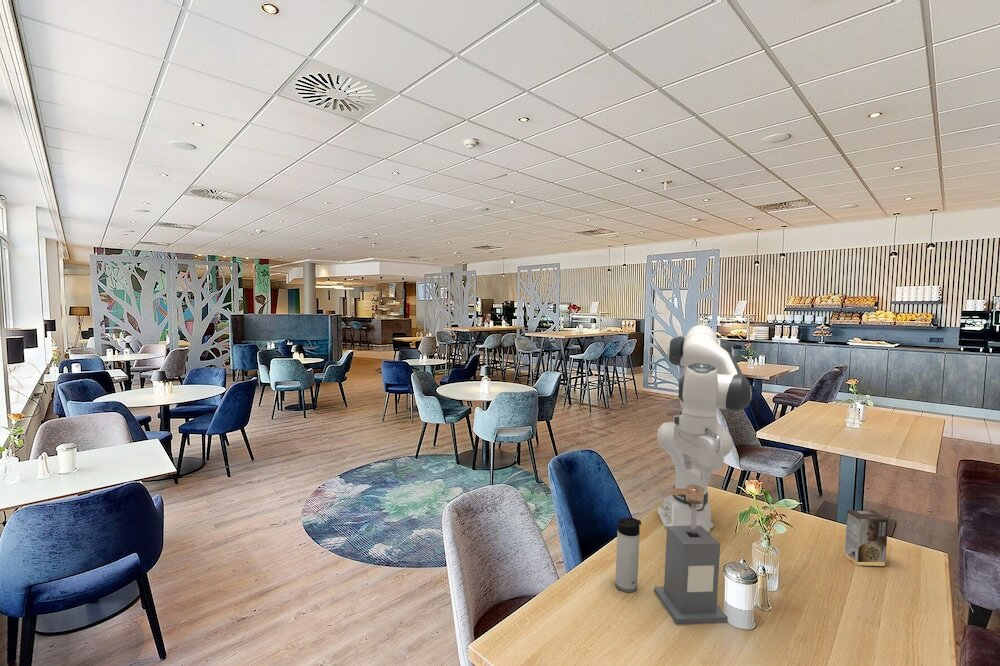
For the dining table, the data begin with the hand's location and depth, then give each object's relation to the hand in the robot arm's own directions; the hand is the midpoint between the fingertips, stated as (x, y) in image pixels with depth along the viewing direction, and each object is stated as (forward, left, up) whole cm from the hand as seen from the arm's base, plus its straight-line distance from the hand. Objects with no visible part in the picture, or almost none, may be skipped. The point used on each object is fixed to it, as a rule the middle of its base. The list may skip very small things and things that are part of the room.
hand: (695, 474), depth 128 cm
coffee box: (-19, +70, -37) cm, 82 cm away
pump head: (0, -3, -23) cm, 23 cm away
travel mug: (-10, -14, -37) cm, 41 cm away
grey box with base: (0, 0, -37) cm, 37 cm away
